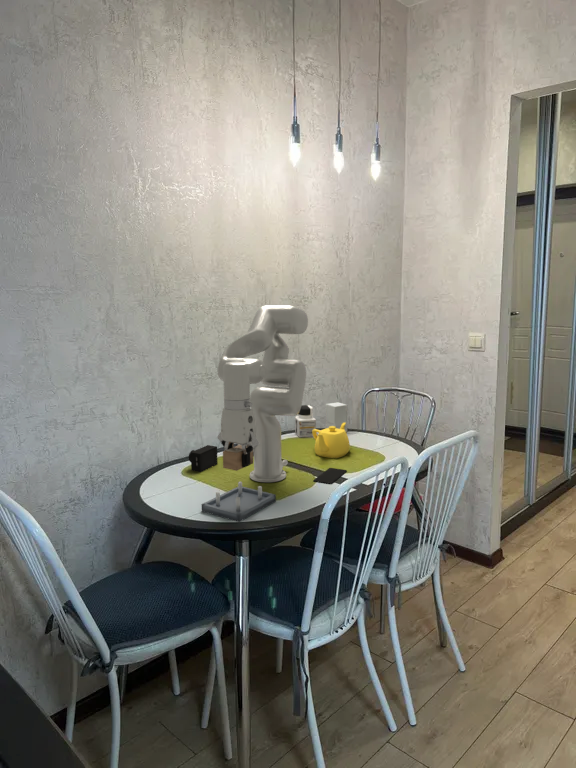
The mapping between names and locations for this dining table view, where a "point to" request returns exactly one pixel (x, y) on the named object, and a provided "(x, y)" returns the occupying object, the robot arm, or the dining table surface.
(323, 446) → the teapot
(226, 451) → the labeled cardboard box
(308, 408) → the container
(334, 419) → the supplement box
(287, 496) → the dining table surface
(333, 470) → the smartphone
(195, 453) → the digital camera
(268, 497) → the tray
